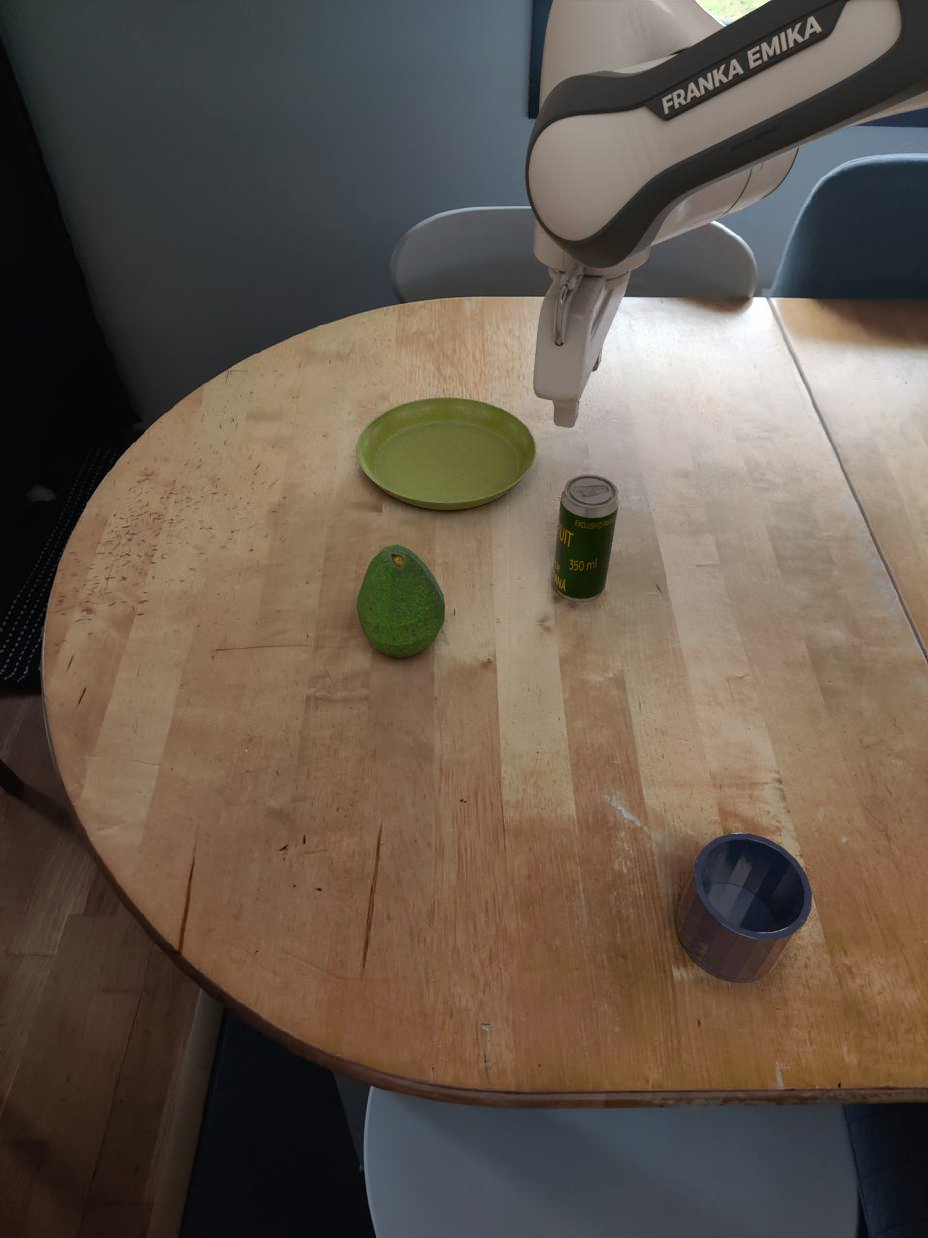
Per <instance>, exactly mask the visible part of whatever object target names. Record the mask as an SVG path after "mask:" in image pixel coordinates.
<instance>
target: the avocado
mask: <svg viewBox="0 0 928 1238" xmlns="http://www.w3.org/2000/svg"><path fill="white" fill-rule="evenodd" d="M356 611H357V617H358V622H359V625H360V627H361V629H362V632H363V633H364V635H365V636H366V638H367V641H369V643H370V644H371V646H373V647H374V649H376V650H378V651H379V652H381V653H382V654H384V655H386V656H389V657H394V658H398V659H400V658H408V657H412V656H415V655H417V654H420V653H421V652H423V651H425V650H426V649H428V648H429V647H430V646H431V645H432V644H433V643H434V641H436V638H437V637H438V635H439V633H440V631H441V629H442V627H443V625H444V623H445V621H446V620H445V617H446V603H445V595H444V593H443V590H442V589H441V587H440V584H439V582H438V581H437V578H436V577H435V575H434V574H433V572H432V570H431V569H430V568H429V566H427V565H426V563H425V562H424V561H423V560H422V559H421V558H420V557H419V556H418V555H417V553H415V552H413V550H411V549H410V548H408V547H406V546H402V545H400V544H394V545H392V544H391V545H388V546H384V547H383V548H382V549H381V550H380V551H379V552H377V554H375V556H374V557H373V558H372V559H371V561H369V564H368V566H367V569H366V571H365V574H364V577H363V580H362V583H361V586H360V588H359V591H358V595H357V600H356Z"/></svg>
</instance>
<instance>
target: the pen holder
mask: <svg viewBox="0 0 928 1238" xmlns="http://www.w3.org/2000/svg"><path fill="white" fill-rule="evenodd" d="M679 899H680V900H679V902H678V906H677V910H676V913H675V926H676V932H677V937H678V939H679V941H680V943H681V946H682V948H683V950H684V951H685V953H686V954H687V955H688V957H689V958H690V959H691V960H692V961H693V962H694V963H695V964H696V966H698V968H701V969H702V970H703V971H704V972H706V973H708V974H709V975H711V976H713V977H715V978H718V979H720V980H723V981H726V982H731V983H732V982H733V983H749V982H754V981H758V980H760V979H762V978H765V977H766V976H768V975H769V974H770V973H772V971H773V970H775V968H776V967H777V966H778V965H779V964H780V962H781V961H782V959H783V957H784V956H785V955H786V953H787V952H788V950H789V948H790V947H791V945H792V944H793V942H794V941H795V939H796V938H797V936H798V935H799V933H800V931H801V930H802V928H803V927H804V926H805V924H806V923H807V920H808V917H809V916H810V913H811V911H812V908H813V891H812V887H811V885H810V881H809V877H808V875H807V873H806V872H805V870H804V869H803V867H802V866H801V864H800V862H799V861H798V859H797V858H795V856H793V855H792V854H791V853H790V852H789V851H788V850H786V848H785V847H783V846H782V845H780V844H779V843H777V842H775V841H773V840H771V839H769V838H767V837H765V836H761V835H756V834H754V833H749V832H730V833H728V834H727V833H726V834H724V835H720V836H718V837H715V838H713V839H712V840H711V841H709V842H708V843H707V844H706V845H704V846H703V847H702V849H701V850H700V851H699V854H698V856H697V857H696V859H695V862H694V864H693V866H692V869H691V872H690V874H689V876H688V879H687V882H686V884H685V887H684V889H683V891H682V894H681V896H680V898H679Z"/></svg>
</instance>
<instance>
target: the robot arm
mask: <svg viewBox="0 0 928 1238" xmlns="http://www.w3.org/2000/svg"><path fill="white" fill-rule="evenodd" d="M540 71H541V72H540V85H539V86H540V87H539V104H538V106H539V107H538V114H537V116H536V119H535V121H534V125H533V127H532V130H531V133H530V136H529V140H528V143H527V144H528V145H527V151H526V155H525V164H524V181H525V182H524V183H525V190H526V195H527V199H528V202H529V205H530V209H531V211H532V213H533V215H534V219H533V220H534V221H533V222H534V223H533V240H532V241H533V245H532V252H533V254H534V256H535V258H536V259H537V261H539V262H540V263H541V264H543V265H545V266H547V267H548V268H547V269H548V271H547V273H548V276H549V277H550V278H551V279H552V282H551V284H550V286H549V288H548V290H547V291H546V293H545V295H544V297H543V300H542V303H541V307H540V311H539V316H538V323H537V332H536V342H535V351H534V352H535V353H534V365H533V375H532V376H533V377H532V387H533V392H534V395H535V396H536V397H537V398H538V399H542V400H547V401H551V402H552V405H553V418H552V419H553V424H554V425H555V426H556V427H559V428H560V427H561V428H567V429H572V428H574V427H575V425H576V422H577V420H578V418H579V410H580V403H581V402H580V401H581V399H582V396H583V393H584V391H585V389H586V386H587V383H588V382H589V379H590V377H591V374H592V373H593V372H596V371H598V369H599V367H600V364H601V362H602V356H603V348H604V343H605V340H606V339H607V337H608V334H609V332H610V329H611V327H612V324H613V322H614V319H615V317H616V315H617V312H618V310H619V308H620V305H621V303H622V300H623V299H624V297H625V295H626V291H627V288H628V284H629V281H630V277H631V273H632V271H633V270H636V269H637V268H639V267H641V266H642V265H644V264H645V263H646V262H647V260H648V259H649V257H650V253H651V247H653V246H655V245H658V244H660V243H663V242H666V241H668V240H670V239H673V238H676V237H678V236H681V235H682V234H685V233H688V232H690V231H693V230H695V229H698V228H701V227H703V226H706V225H707V224H710V223H713V222H714V221H715V222H716V221H717V220H720V219H722V218H725V217H727V216H729V215H732V214H735V213H737V212H740V211H742V210H744V209H746V208H748V207H750V206H753V205H754V204H756V203H757V202H759V201H761V200H763V199H765V198H767V197H768V196H770V195H771V194H773V193H774V192H775V191H776V190H777V189H778V188H779V187H780V186H781V185H782V184H783V183H784V181H785V180H786V178H787V177H788V175H789V174H790V172H791V170H792V168H793V166H794V163H795V161H796V158H797V157H798V153H799V150H800V148H801V147H803V146H805V145H808V144H810V143H812V142H815V141H817V140H819V139H822V138H824V137H827V136H830V135H832V134H834V133H837V132H840V131H844V130H845V129H849V128H852V127H855V126H858V125H862V124H865V123H868V122H872V121H876V120H880V119H885V118H887V117H891V116H895V115H900V114H905V113H909V112H914V111H918V110H923V109H928V0H768V1H766V2H764V3H763V4H761V5H759V6H758V7H756V8H754V9H753V10H751V11H750V12H747V13H746V14H744V15H742V16H741V17H739V18H737V19H736V20H734V21H732V22H731V23H729V24H727V25H725V24H724V23H722V22H721V21H720V20H719V19H717V18H716V17H715V16H714V15H712V14H711V13H710V12H709V11H708V10H707V9H706V8H704V6H702V5H701V4H700V3H699V2H698V1H697V0H552V3H551V7H550V9H549V13H548V19H547V23H546V30H545V36H544V43H543V50H542V61H541V69H540Z"/></svg>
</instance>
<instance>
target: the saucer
mask: <svg viewBox="0 0 928 1238" xmlns="http://www.w3.org/2000/svg"><path fill="white" fill-rule="evenodd" d="M355 453H356V458H357V459H356V460H357V461H358V465H359V466H360V468H361V470H362V471H363V472H364V473H365V475H366V477H368V478H369V479H370V481H371V482H372V483H373V484H375V485H376V486H377V487H378V488H379V489H380V490H382V491H384V492H385V493H387V494H388V495H389V496H391V497H393V498H395V499H397V500H399V501H401V502H404V503H407V504H409V505H412V506H415V507H419V508H423V509H424V508H425V509H428V510H429V509H430V510H436V511H437V510H438V511H456V510H464V509H465V510H466V509H470V508H476V507H478V506H482V505H485V504H487V503H491V502H492V501H494V500H496V499H499V498H500V497H502V496H504V495H505V494H507V493H509V492H510V491H511V490H512V489H514V488H515V487H516V486H517V485H518V484H519V483H520V482H521V481H522V480H523V479H524V478H525V477H526V476H527V475H528V473H530V471H531V469H532V467H533V466H534V463H535V460H536V458H537V445H536V441H535V437H534V435H533V433H532V432H531V430H530V428H529V427H528V426H527V425H526V424H525V423H524V422H523V421H522V420H521V419H519V418H518V417H517V416H516V415H514V414H513V413H511V412H510V411H508V410H506V409H504V408H502V407H499V406H496V405H494V404H491V403H489V402H484V401H482V400H476V399H473V398H472V399H471V398H464V397H450V396H449V397H447V396H446V397H443V396H442V397H441V396H440V397H430V398H421V399H416V400H412V401H407V402H404V403H401V404H398V405H396V406H393V407H391V408H389V409H387V410H385V411H383V412H381V413H380V414H379V415H377V416H376V417H374V418H373V419H371V421H370V422H369V423H367V424H366V425H365V427H364V428H363V429H362V431H361V432H360V434H359V435H358V439H357V442H356V447H355Z"/></svg>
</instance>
